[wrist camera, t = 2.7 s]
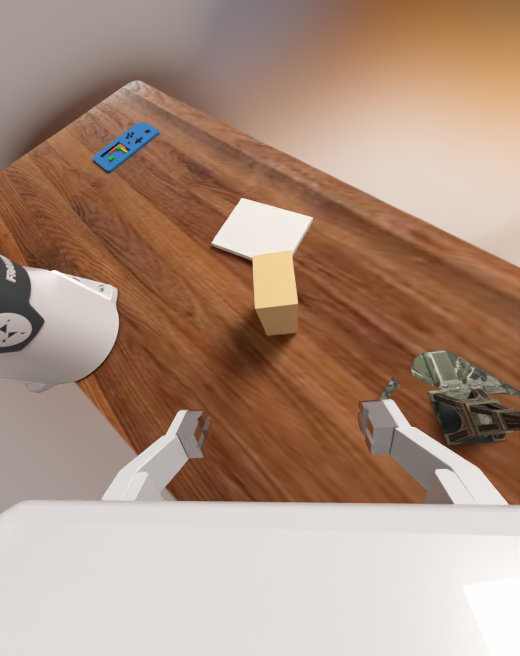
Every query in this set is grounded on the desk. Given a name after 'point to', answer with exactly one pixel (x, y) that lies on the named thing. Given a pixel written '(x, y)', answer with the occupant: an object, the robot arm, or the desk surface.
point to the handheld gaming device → (125, 146)
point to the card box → (275, 292)
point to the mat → (261, 230)
